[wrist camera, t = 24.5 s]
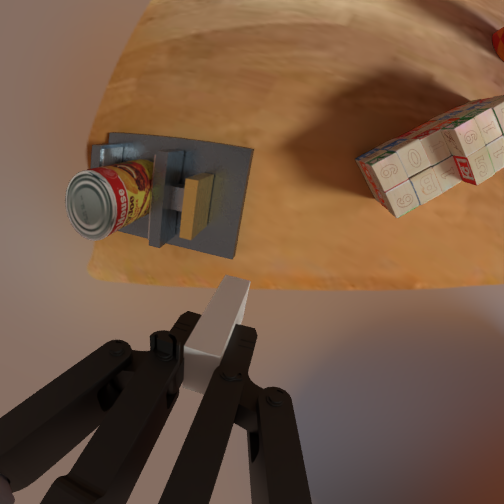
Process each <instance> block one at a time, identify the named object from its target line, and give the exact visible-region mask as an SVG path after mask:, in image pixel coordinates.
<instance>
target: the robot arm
mask: <svg viewBox="0 0 504 504" xmlns="http://www.w3.org/2000/svg"><path fill="white" fill-rule="evenodd" d="M249 286H250V281H249V280H245V279H241V278H237V277H233V276H229V275H225V276H224V278H223V280H222V282H221V283H220V285H219V287H218V288H217V290H216V292H215V294H214V295H213V297H212V299H211V300H210V302H209V304H208V306H207V307H206V309H205V311H204V312H203V314H202V315H200V314H196V313H193V312H190V311H187V312H186V313H184V314H182V315H181V316H180V317H179V319H178V320H177V322H176V323H175V324H174V326H173V327H172V329H171V330H170V331H165V330H164V331H157V332H154V333H153V334H151V335H150V347H151V348H150V351H135V350H132V349H131V347H130V345H129V344H128V343H127V342H125V341H123V340H111V341H109V342H107V343H105V344H104V345H103V346H101V347H100V348H98V349H97V350H95V351H94V352H93V353H91V354H90V355H88V356H87V357H86V358H84V359H83V360H81V361H80V362H78V363H77V364H75V365H74V366H73V367H71V368H70V369H68V370H67V371H66V372H64V373H63V374H61V375H60V376H59V377H57V378H56V379H54V380H53V381H52V382H50V383H49V384H47V385H46V386H44V387H43V388H42V389H40V390H39V391H37V392H36V393H35V394H33V395H32V396H31V397H29V398H28V399H26V400H25V401H23V402H22V403H21V404H19V405H18V406H17V407H15V408H14V409H12V410H11V411H10V412H8V413H7V414H5V415H4V416H3V417H1V418H0V504H14V502H15V499H14V496H13V494H12V493H13V492H16V491H19V490H21V489H23V488H25V487H27V486H28V485H30V484H31V483H33V482H34V481H35V480H37V479H38V478H39V477H40V476H42V475H43V474H44V473H45V472H46V471H47V470H49V469H50V468H51V467H52V466H53V465H55V464H56V463H57V462H58V461H59V460H60V459H61V458H63V457H64V456H65V455H66V454H67V453H69V452H70V451H71V450H72V449H73V448H74V447H75V446H77V445H78V444H79V443H80V442H81V441H82V440H83V439H85V437H87V436H88V435H89V434H90V433H91V432H93V431H94V430H95V429H96V428H97V427H98V426H99V425H100V426H99V427H98V429H97V430H96V432H95V433H94V435H93V436H92V438H91V440H90V441H89V442H88V444H87V446H86V447H85V449H84V450H83V452H82V453H81V455H80V457H79V458H78V460H77V462H76V463H75V464H74V466H73V468H72V469H71V471H70V472H69V473H68V474H67V475H65V476H60V477H58V478H57V479H56V480H55V481H54V483H53V484H52V485H51V487H50V488H49V490H48V492H47V493H46V495H45V496H44V498H43V500H42V501H41V503H40V504H126V503H127V501H128V499H129V497H130V495H131V492H132V490H133V488H134V486H135V484H136V482H137V480H138V478H139V476H140V474H141V472H142V470H143V468H144V466H145V464H146V462H147V459H148V457H149V455H150V453H151V451H152V449H153V447H154V445H155V443H156V441H157V439H158V437H159V435H160V433H161V431H162V429H163V427H164V425H165V423H166V420H167V418H168V416H169V414H170V412H171V410H172V408H173V406H174V404H175V402H176V400H177V398H178V396H179V388H180V386H181V384H182V382H183V388H186V389H189V390H192V391H195V392H199V393H202V394H204V396H203V399H202V401H201V404H200V406H199V408H198V411H197V413H196V416H195V418H194V421H193V423H192V425H191V427H190V430H189V432H188V435H187V437H186V439H185V442H184V444H183V447H182V449H181V451H180V454H179V456H178V459H177V461H176V463H175V465H174V468H173V470H172V473H171V475H170V477H169V480H168V482H167V484H166V487H165V489H164V491H163V494H162V496H161V498H160V501H159V503H158V504H209V501H210V498H211V495H212V492H213V489H214V486H215V483H216V479H217V476H218V473H219V470H220V466H221V463H222V460H223V457H224V453H225V450H226V447H227V443H228V440H229V437H230V433H231V430H232V427H233V423H235V424H237V425H239V426H240V427H242V428H244V429H246V430H247V440H248V456H249V470H250V485H251V498H252V504H312V502H311V497H310V491H309V486H308V481H307V476H306V471H305V465H304V460H303V455H302V450H301V445H300V440H299V434H298V429H297V425H296V419H295V414H294V410H293V405H292V399H291V397H290V395H289V394H288V393H287V392H286V391H285V390H283V389H281V388H278V387H267V388H265V389H263V388H261V387H259V386H257V385H255V384H254V383H253V382H252V381H251V380H250V378H249V376H248V369H249V366H250V363H251V359H252V355H253V351H254V347H255V343H256V339H257V333H256V330H255V328H251V327H247V326H243V325H241V322H242V319H243V315H244V310H245V305H246V301H247V295H248V291H249Z"/></svg>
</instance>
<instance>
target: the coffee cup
mask: <svg viewBox="0 0 504 504" xmlns="http://www.w3.org/2000/svg"><path fill="white" fill-rule="evenodd" d="M492 43H493V46H494V49H495V51H496V53H497V54H498V56H499V57H500V58H501V59H502V60H503V61H504V27H503V28H501V29H500V30H498V31H497V32H495V33H494V34H493V36H492Z"/></svg>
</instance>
